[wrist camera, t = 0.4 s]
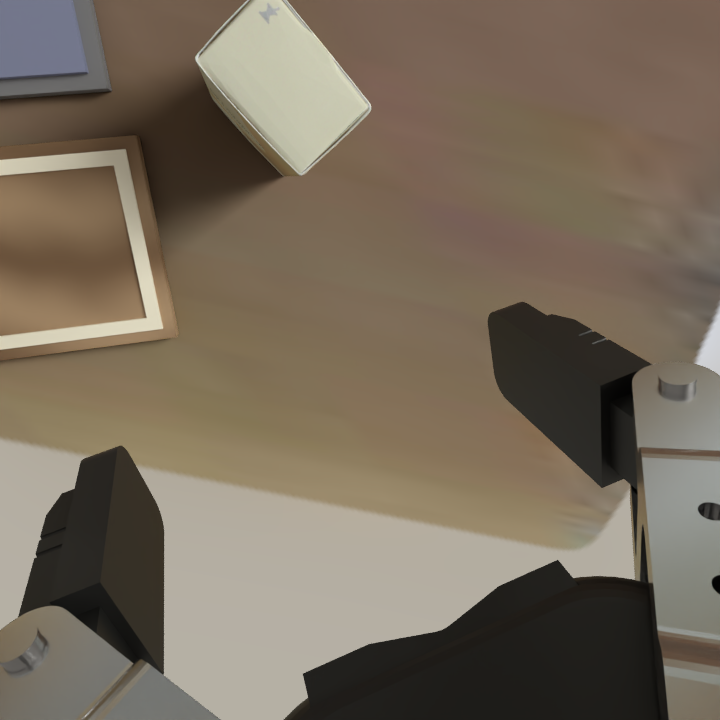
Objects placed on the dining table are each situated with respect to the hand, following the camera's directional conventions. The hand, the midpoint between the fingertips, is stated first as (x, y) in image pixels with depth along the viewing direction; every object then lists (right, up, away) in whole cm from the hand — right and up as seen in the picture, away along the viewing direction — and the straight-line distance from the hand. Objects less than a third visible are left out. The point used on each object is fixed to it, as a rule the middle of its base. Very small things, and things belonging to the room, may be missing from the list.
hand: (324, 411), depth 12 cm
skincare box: (-4, +16, +22) cm, 28 cm away
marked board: (-18, +8, +22) cm, 29 cm away
